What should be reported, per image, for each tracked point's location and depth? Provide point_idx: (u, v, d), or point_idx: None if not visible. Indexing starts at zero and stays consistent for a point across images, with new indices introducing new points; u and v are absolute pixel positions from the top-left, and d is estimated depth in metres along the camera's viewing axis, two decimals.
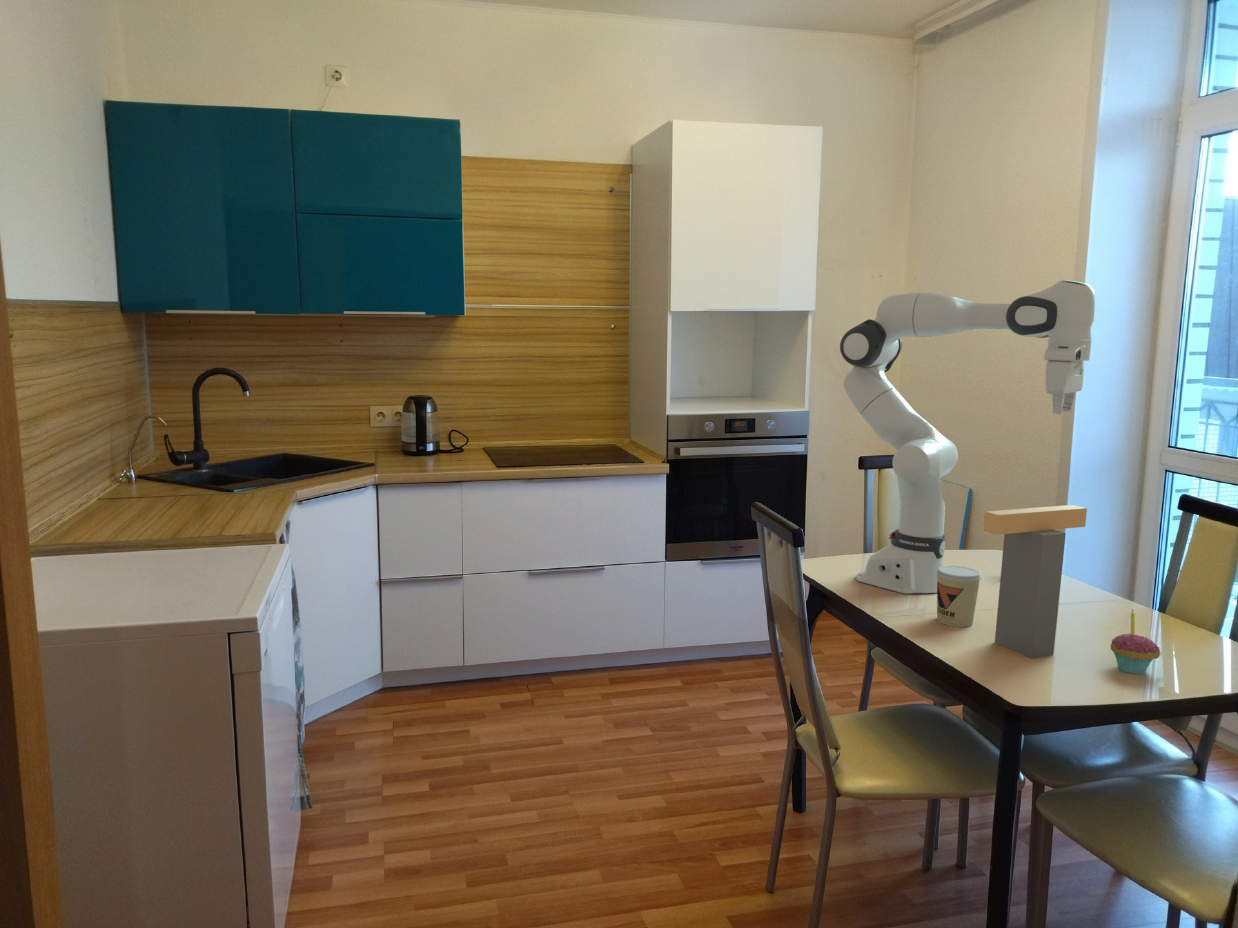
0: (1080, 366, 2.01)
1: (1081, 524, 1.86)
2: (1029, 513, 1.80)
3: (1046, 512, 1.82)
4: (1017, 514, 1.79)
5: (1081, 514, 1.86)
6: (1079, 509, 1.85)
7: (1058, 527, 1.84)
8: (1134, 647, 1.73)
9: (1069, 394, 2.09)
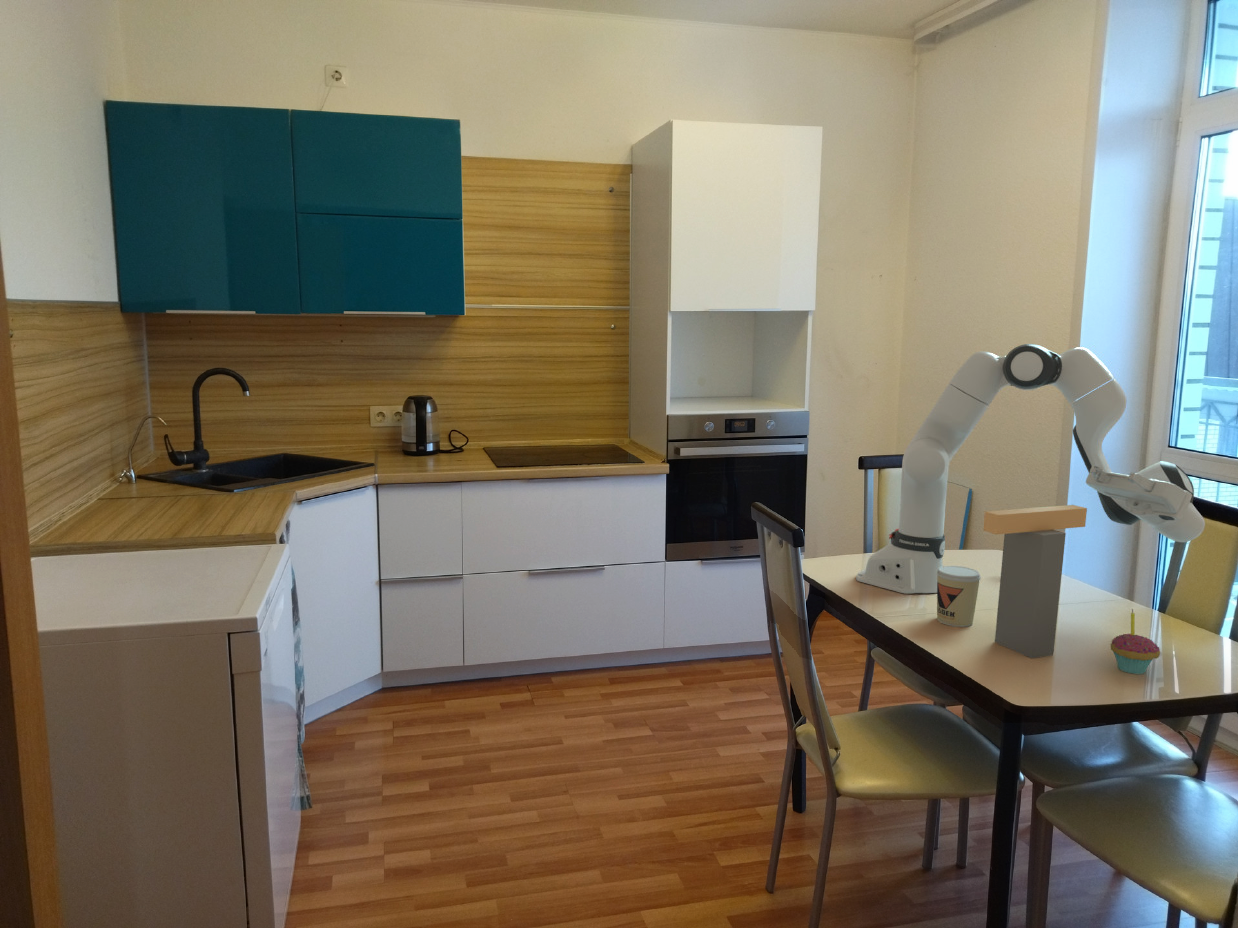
0: (1139, 507, 1.93)
1: (1081, 524, 1.86)
2: (1029, 513, 1.80)
3: (1046, 512, 1.82)
4: (1017, 514, 1.79)
5: (1081, 514, 1.86)
6: (1079, 509, 1.85)
7: (1058, 527, 1.84)
8: (1134, 647, 1.73)
9: (1102, 477, 1.96)
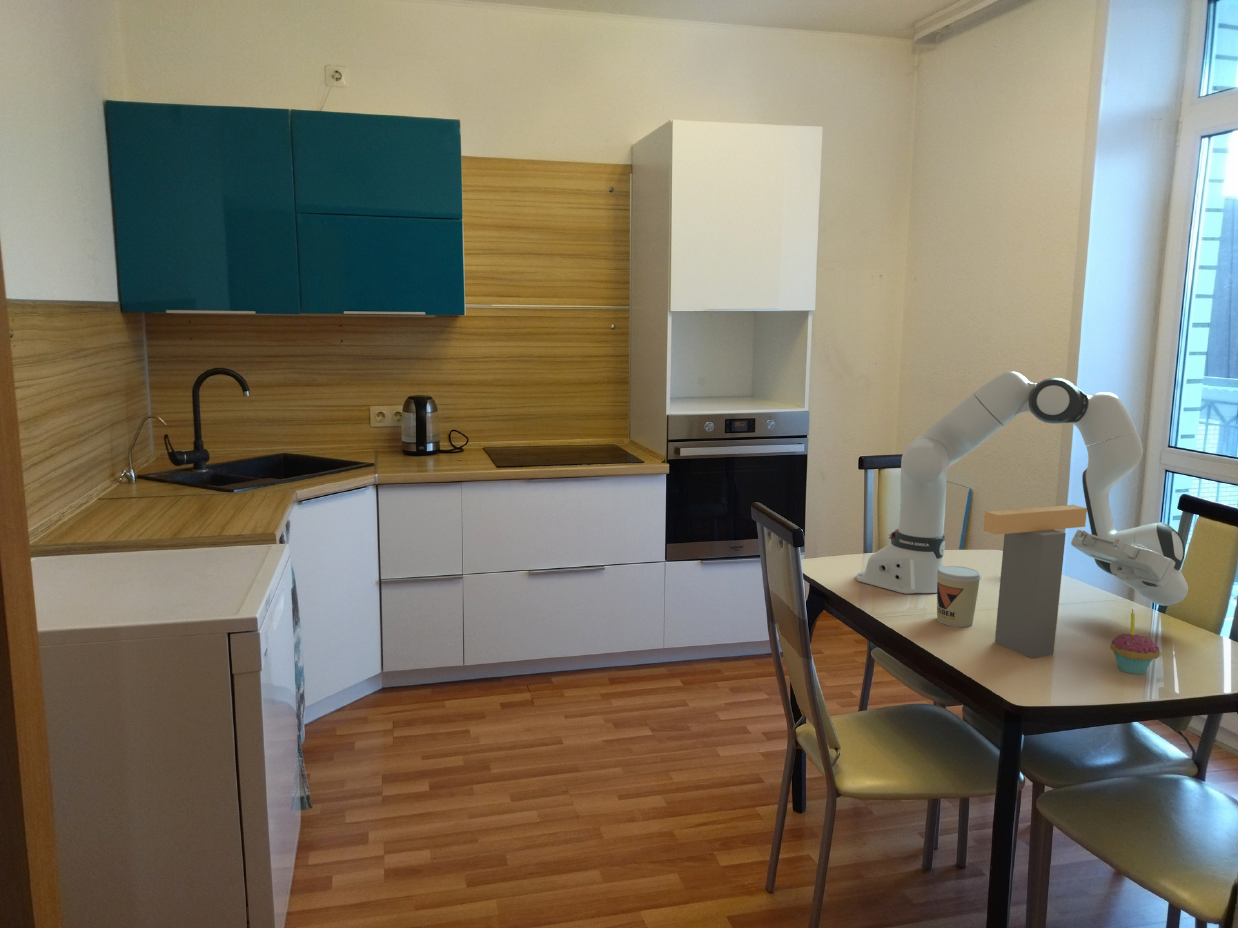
0: (1123, 571, 1.94)
1: (1081, 524, 1.86)
2: (1029, 513, 1.80)
3: (1046, 512, 1.82)
4: (1017, 514, 1.79)
5: (1081, 514, 1.86)
6: (1079, 509, 1.85)
7: (1058, 527, 1.84)
8: (1134, 647, 1.73)
9: (1087, 540, 1.97)
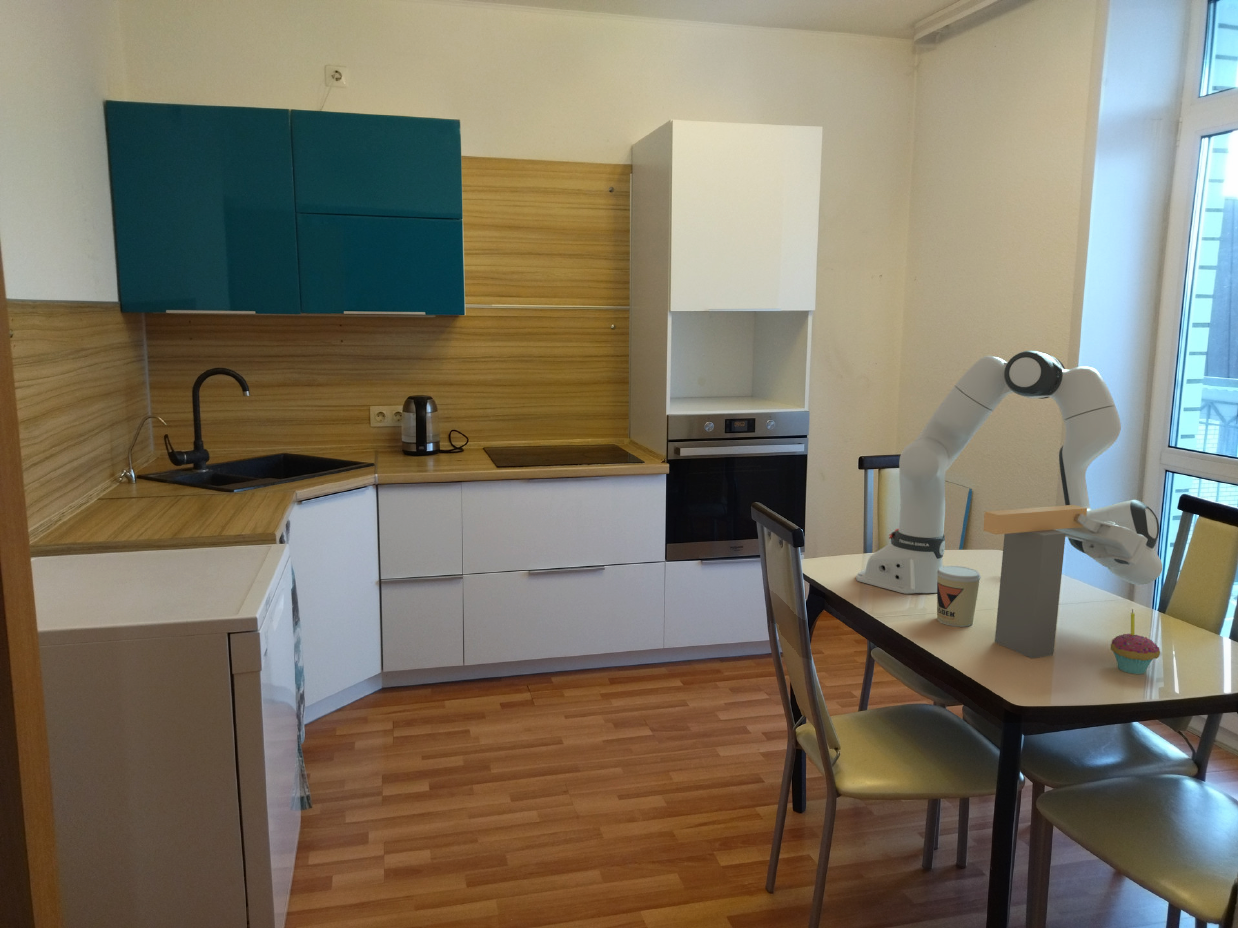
0: (1095, 549, 1.90)
1: None
2: (1029, 513, 1.80)
3: (1046, 512, 1.82)
4: (1017, 514, 1.79)
5: None
6: (1079, 509, 1.85)
7: (1058, 527, 1.84)
8: (1134, 647, 1.73)
9: None
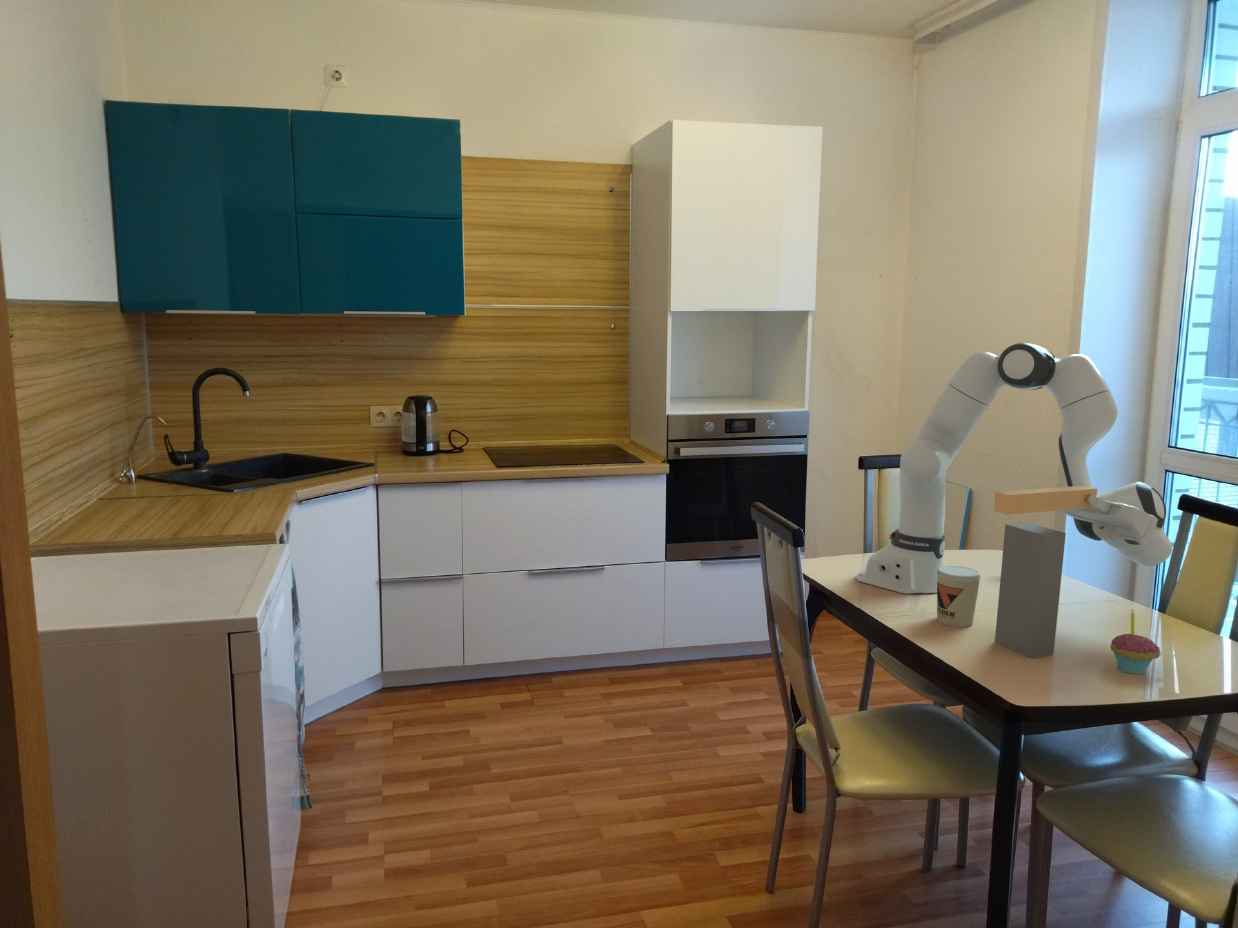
0: (1105, 530, 1.90)
1: (1091, 505, 1.86)
2: (1040, 493, 1.80)
3: (1056, 492, 1.82)
4: (1028, 494, 1.79)
5: None
6: (1089, 490, 1.85)
7: (1069, 508, 1.84)
8: (1134, 647, 1.73)
9: None
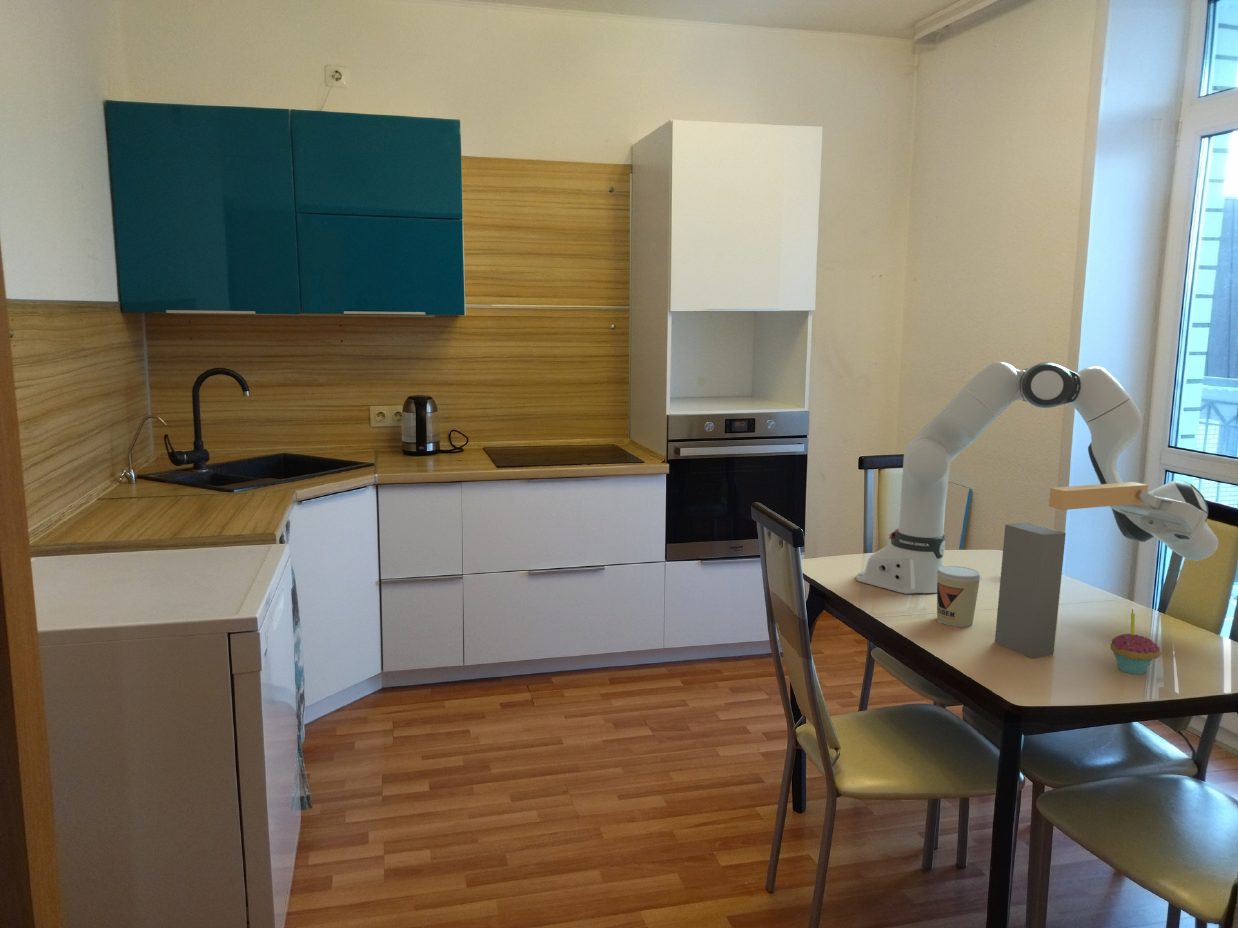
0: (1154, 525, 1.95)
1: None
2: (1093, 489, 1.86)
3: (1109, 488, 1.87)
4: (1082, 490, 1.84)
5: (1142, 490, 1.91)
6: (1140, 486, 1.91)
7: (1121, 503, 1.89)
8: (1134, 647, 1.73)
9: None
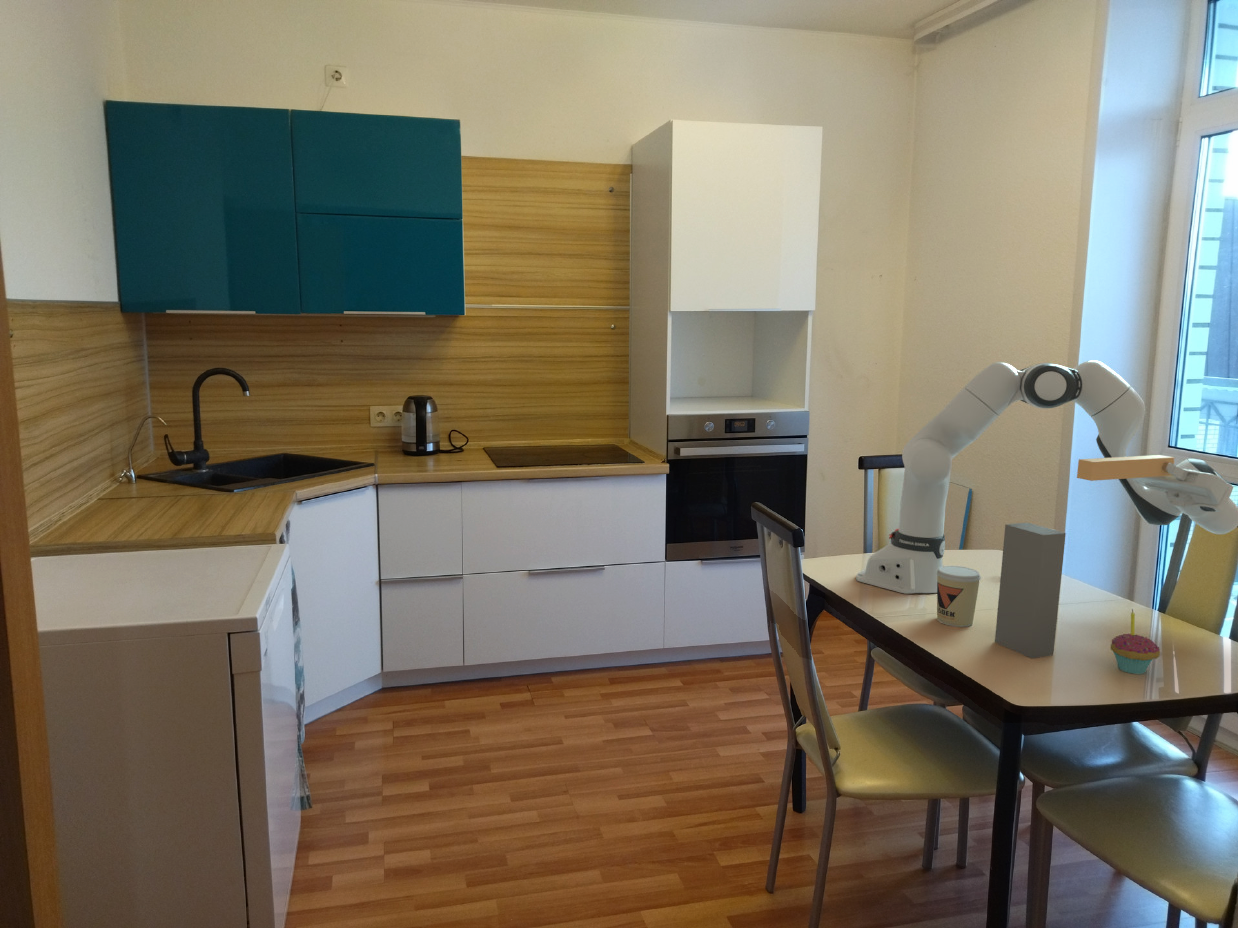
0: (1180, 498, 1.97)
1: (1168, 473, 1.93)
2: (1121, 461, 1.87)
3: (1137, 460, 1.89)
4: (1110, 461, 1.86)
5: None
6: (1167, 458, 1.92)
7: (1148, 475, 1.91)
8: (1134, 647, 1.73)
9: None
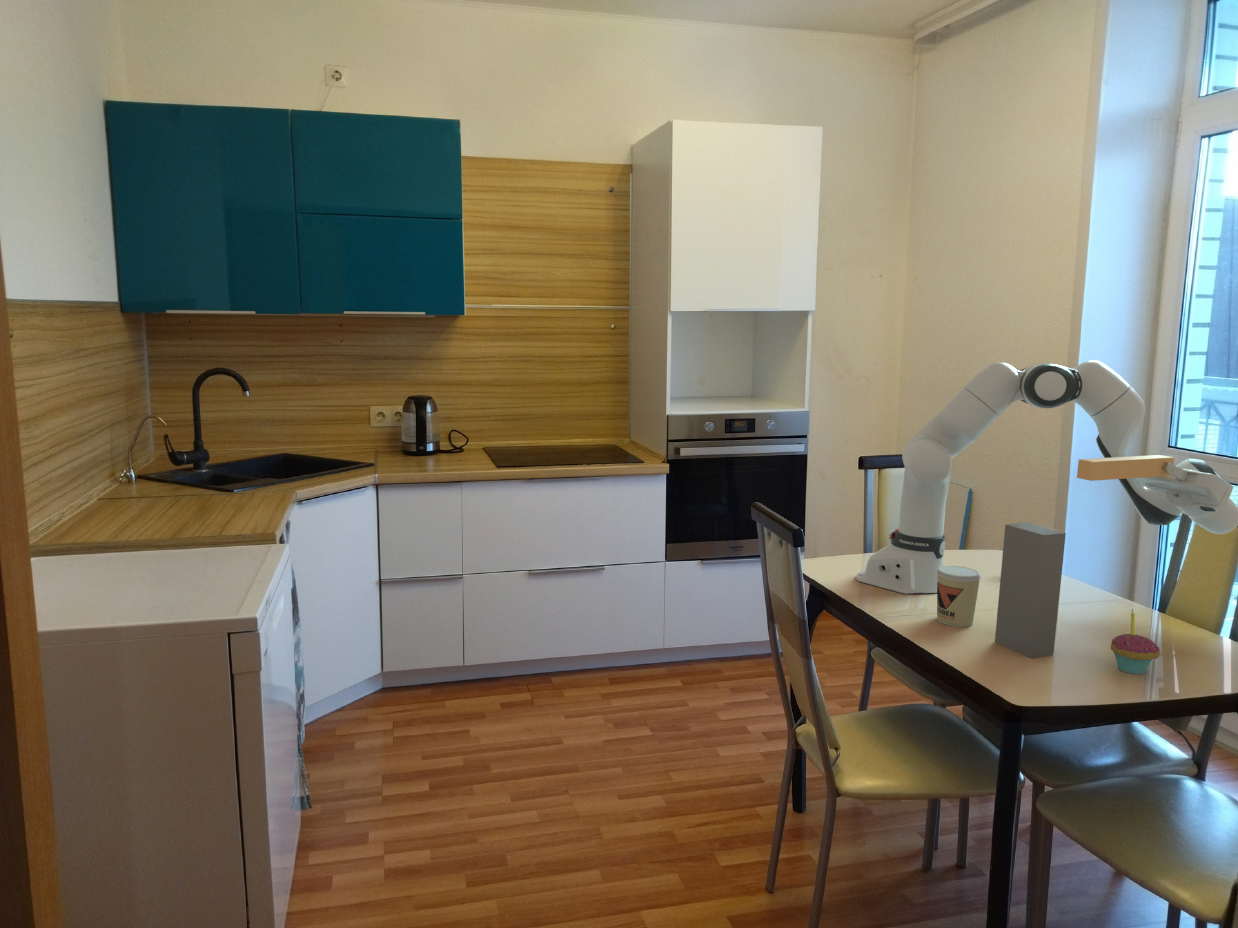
0: (1180, 498, 1.97)
1: (1168, 473, 1.93)
2: (1121, 461, 1.87)
3: (1137, 460, 1.89)
4: (1110, 461, 1.86)
5: None
6: (1167, 458, 1.92)
7: (1148, 475, 1.91)
8: (1134, 647, 1.73)
9: None
